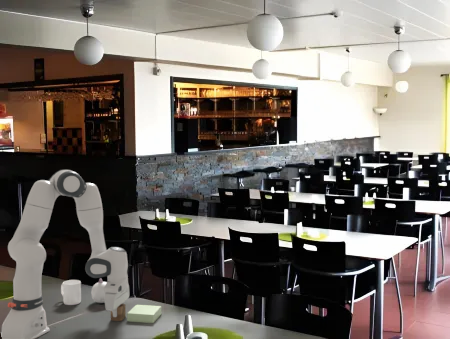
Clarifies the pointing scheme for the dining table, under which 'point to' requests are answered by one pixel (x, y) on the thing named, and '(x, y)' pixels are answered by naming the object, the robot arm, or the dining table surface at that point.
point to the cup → (71, 292)
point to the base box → (144, 313)
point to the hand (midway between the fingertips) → (118, 314)
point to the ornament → (98, 292)
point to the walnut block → (119, 313)
